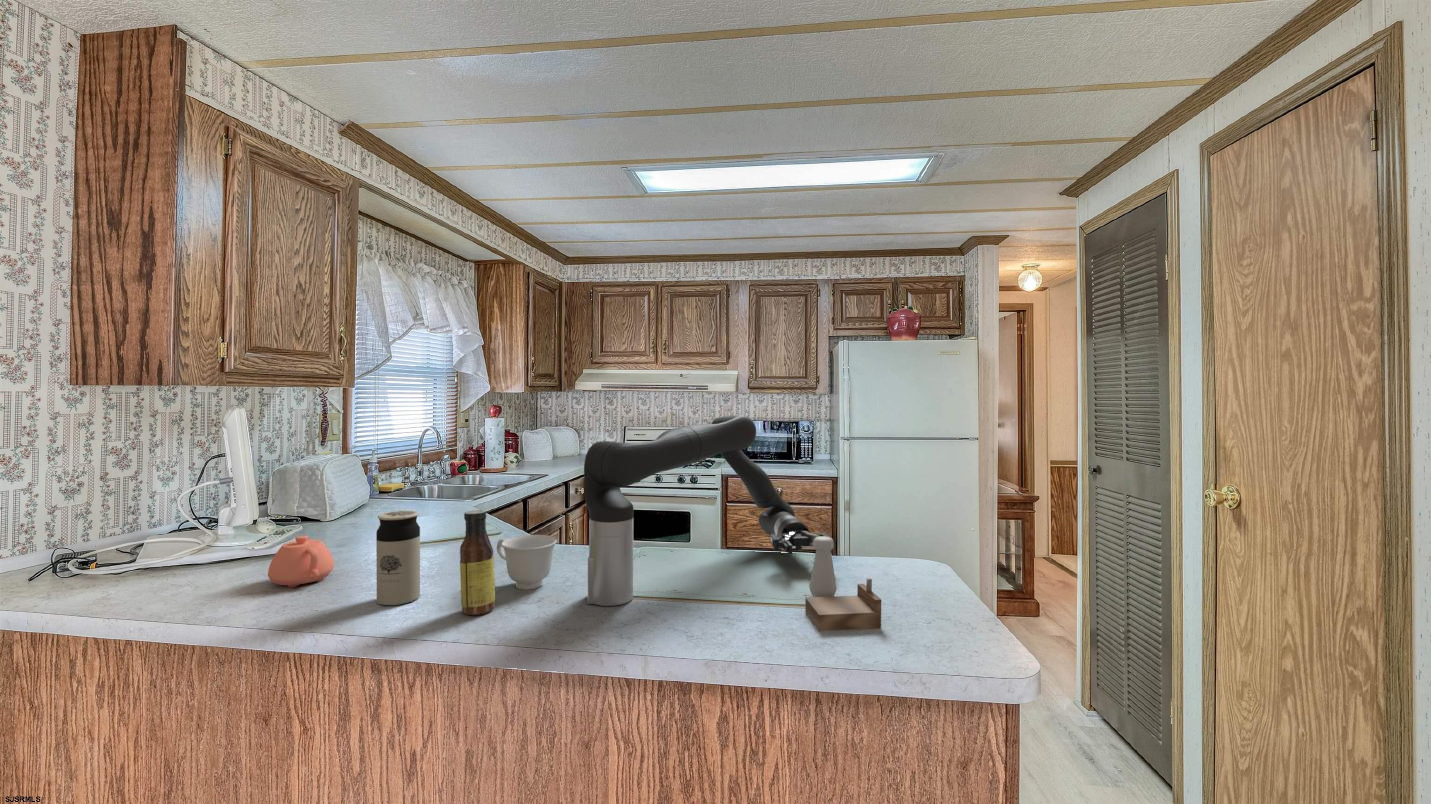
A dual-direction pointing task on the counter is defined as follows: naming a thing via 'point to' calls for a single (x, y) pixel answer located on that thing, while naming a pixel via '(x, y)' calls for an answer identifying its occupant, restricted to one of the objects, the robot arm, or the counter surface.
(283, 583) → the sugar bowl
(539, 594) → the counter surface
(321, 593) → the counter surface
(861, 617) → the wooden stand
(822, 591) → the salt shaker
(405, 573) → the travel mug
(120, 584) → the counter surface
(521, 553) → the teacup
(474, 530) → the sauce bottle
